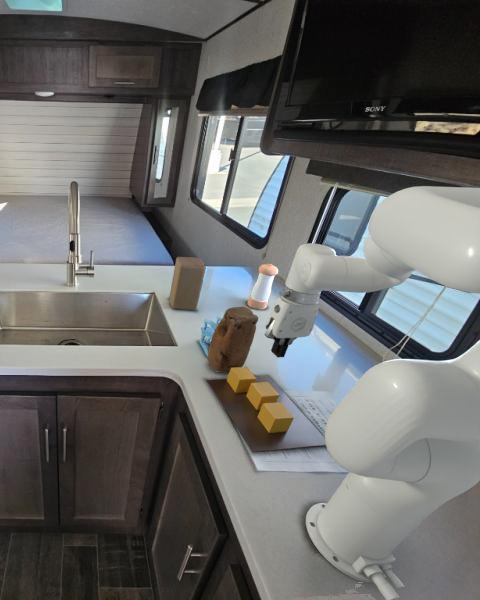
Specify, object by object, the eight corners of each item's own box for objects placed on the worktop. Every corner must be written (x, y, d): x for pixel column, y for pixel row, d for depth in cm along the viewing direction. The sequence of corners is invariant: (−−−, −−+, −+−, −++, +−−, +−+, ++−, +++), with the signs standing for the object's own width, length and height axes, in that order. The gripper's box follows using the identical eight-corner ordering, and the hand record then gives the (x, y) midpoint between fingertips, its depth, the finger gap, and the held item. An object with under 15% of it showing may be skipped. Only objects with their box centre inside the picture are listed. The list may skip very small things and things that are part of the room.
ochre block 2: (273, 408, 87) (279, 395, 84) (256, 410, 86) (262, 396, 84) (262, 394, 91) (267, 381, 89) (246, 396, 90) (251, 383, 88)
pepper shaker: (262, 301, 140) (275, 260, 130) (269, 310, 133) (284, 267, 124) (244, 300, 140) (257, 259, 131) (250, 309, 134) (264, 266, 125)
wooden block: (191, 299, 140) (201, 257, 130) (196, 311, 131) (207, 266, 122) (168, 298, 141) (176, 255, 131) (172, 309, 132) (180, 265, 122)
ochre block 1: (251, 391, 92) (256, 378, 90) (235, 392, 91) (239, 379, 89) (242, 379, 96) (247, 366, 94) (226, 380, 96) (230, 367, 93)
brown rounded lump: (229, 355, 107) (245, 303, 97) (245, 370, 100) (264, 316, 91) (201, 361, 104) (215, 308, 94) (216, 376, 98) (233, 321, 88)
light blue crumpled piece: (211, 339, 114) (219, 310, 109) (227, 353, 108) (237, 323, 102) (193, 343, 112) (200, 314, 106) (208, 357, 105) (217, 327, 100)
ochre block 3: (287, 431, 80) (294, 417, 78) (269, 433, 80) (275, 419, 77) (274, 415, 85) (280, 402, 82) (257, 416, 84) (262, 403, 82)
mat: (330, 445, 77) (330, 444, 77) (252, 452, 75) (253, 451, 75) (268, 376, 98) (268, 375, 98) (206, 380, 96) (206, 379, 96)
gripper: (282, 302, 75) (260, 364, 83) (339, 300, 76) (312, 361, 85) (262, 288, 81) (243, 347, 90) (316, 287, 83) (292, 344, 91)
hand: (277, 354), depth 87 cm, fingers closed
